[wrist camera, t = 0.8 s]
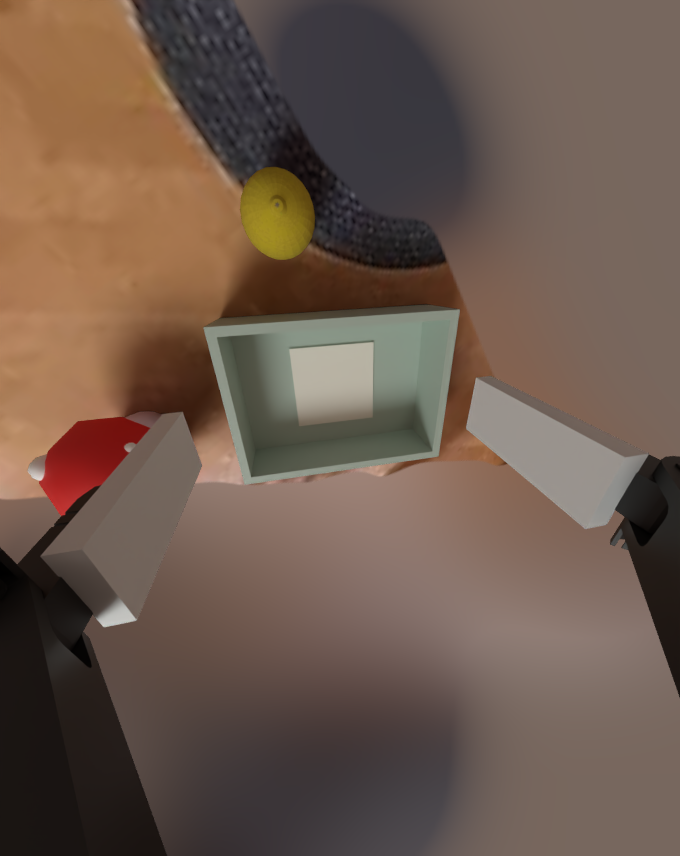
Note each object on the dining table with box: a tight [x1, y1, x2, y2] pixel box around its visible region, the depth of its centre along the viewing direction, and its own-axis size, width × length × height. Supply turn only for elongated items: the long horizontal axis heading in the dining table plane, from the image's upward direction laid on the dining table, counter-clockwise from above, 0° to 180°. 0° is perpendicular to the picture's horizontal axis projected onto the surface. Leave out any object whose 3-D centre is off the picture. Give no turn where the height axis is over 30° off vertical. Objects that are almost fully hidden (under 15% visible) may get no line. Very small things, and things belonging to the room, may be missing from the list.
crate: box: [203, 304, 460, 485], centre depth 30 cm, size 16×22×6 cm
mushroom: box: [28, 411, 162, 516], centre depth 26 cm, size 11×11×12 cm
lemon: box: [240, 167, 315, 260], centre depth 21 cm, size 6×6×8 cm
